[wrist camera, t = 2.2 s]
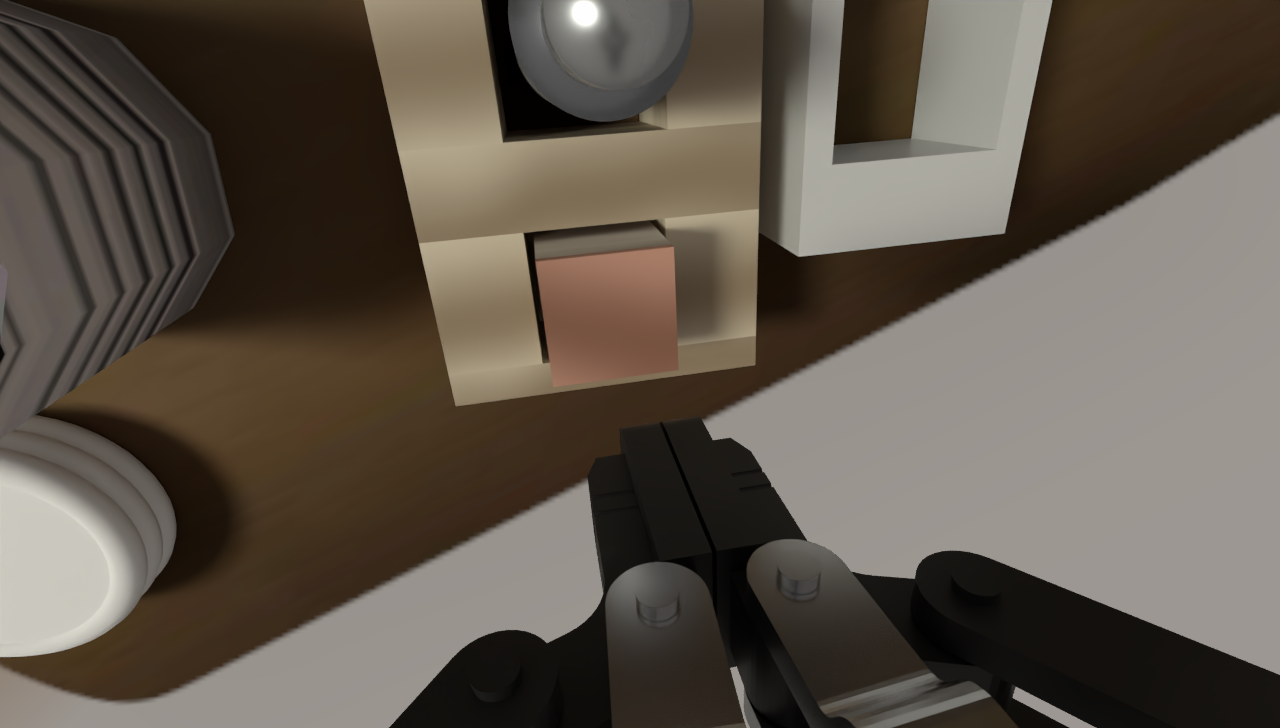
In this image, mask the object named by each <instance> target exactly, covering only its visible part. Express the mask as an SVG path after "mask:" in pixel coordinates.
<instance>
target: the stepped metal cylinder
mask: <svg viewBox="0 0 1280 728" xmlns="http://www.w3.org/2000/svg"><path fill="white" fill-rule="evenodd" d="M693 17H694V16H693V3H692V0H508V19H509V28H510V34H511V39H512V43H513V47H514V51H515V55H516V59H517V63H518V66H519V69H520V71H521V73H522V76H523V77H524V79H525V81H526V82H527V84H528V85H529V86H530V87H531V89H532V90H533V91H534V92H535V93H537V94H538V95H539V96H540V97H542V98H543V99H545V100H547V101H548V102H550V103H552V104H553V105H555V106H557V107H558V108H560V109H562V110H563V111H565V112H567V113H569V114H572V115H574V116H576V117H579V118H583V119H587V120H592V121H599V122H603V121H617V120H623V119H626V118H630V117H633V116H635V115H637V114H640V113H642V112H644V111H645V110H647V109H648V108H650V107H652V106H653V105H654V104H655V103H657V102H658V101H659V100H660V99H661V98H662V97H663V96H664V95H665V94H666V93H667V92H668V91H669V90H670V88H671V87H672V86H673V84H674V83H675V81H676V80H677V78H678V76H679V75H680V73H681V71H682V69H683V67H684V64H685V62H686V59H687V57H688V53H689V49H690V45H691V40H692V34H693Z"/></svg>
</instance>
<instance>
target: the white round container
mask: <svg viewBox="0 0 1280 728" xmlns="http://www.w3.org/2000/svg"><path fill="white" fill-rule="evenodd" d="M176 527H177V524H176V518H175V512H174V509H173V507H172V504H171V501H170V499H169V497H168V495H167V493H166V492H165V490H164V488H163V486H162V485H161V484H160V483H159V481H158V480H157V479H156V477H155V476H154V475H153V474H152V473H151V472H150V471H149V470H148V469H147V468H146V467H145V466H144V465H143V463H141V462H140V461H139V460H138V459H136V458H135V457H134V456H133V455H132V454H130V453H129V452H128V451H126V450H125V449H123V448H121V447H120V446H118V445H117V444H115V443H114V442H112V441H110V440H108V439H106V438H104V437H102V436H100V435H99V434H97V433H94V432H92V431H90V430H87V429H85V428H82V427H80V426H77V425H74V424H71V423H68V422H64V421H61V420H58V419H53V418H48V417H44V416H39V415H35V416H33V417H32V418H30V419H29V420H27V421H26V422H24V423H23V424H21V425H20V426H18V427H17V428H15V429H14V430H12V431H11V432H10V433H8V434H7V435H5V436H4V437H2V438H1V439H0V657H20V656H33V655H41V654H49V653H53V652H58V651H63V650H67V649H70V648H73V647H76V646H79V645H82V644H84V643H87V642H89V641H91V640H94V639H95V638H97V637H99V636H101V635H103V634H105V633H106V632H107V631H109V630H110V629H111V628H113V627H114V626H116V625H117V624H118V623H120V622H121V621H122V620H123V619H124V618H125V617H126V616H127V615H128V614H129V613H130V612H131V611H132V610H133V609H134V607H135V606H136V604H137V603H138V602H139V599H140V597H141V596H142V595H143V594H144V593H145V592H146V591H147V590H148V589H149V587H150V586H151V584H152V583H153V582H154V580H155V578H156V577H157V576H158V575H159V574H160V573H161V571H162V570H163V569H164V567H165V566H166V564H167V563H168V561H169V559H170V556H171V554H172V552H173V548H174V544H175V539H176Z"/></svg>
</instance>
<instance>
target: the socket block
mask: <svg viewBox="0 0 1280 728" xmlns="http://www.w3.org/2000/svg"><path fill="white" fill-rule="evenodd" d="M692 3H693V16H694V17H693V34H692V40H691V45H690V49H689V53H688V57H687V59H686V62H685V64H684V67H683V69H682V71H681V73H680V75H679V76H678V78H677V80H676V81H675V83H674V84H673V86H672V87H671V88H670V90H669V91H668V92H667V93H666V94H665V95H664V96H663V97H662V98H661V99H660V100H659V101H658V102H657V103H655V104H654V105H653V106H652V107H650V108H648V109H647V110H645V111H644V112H642V113H640V114H639V121H634V122H621V123H609V124H596V125H583V126H571V127H558V128H545V129H533V130H520V131H507V127H506V120H505V114H504V107H503V100H502V94H501V87H500V80H499V73H498V67H497V60H496V53H495V47H494V40H493V33H492V27H491V20H490V13H489V6H488V0H364V4H365V8H366V12H367V17H368V21H369V26H370V30H371V34H372V39H373V43H374V48H375V52H376V56H377V61H378V65H379V70H380V74H381V79H382V83H383V87H384V92H385V96H386V101H387V105H388V109H389V114H390V118H391V123H392V127H393V131H394V136H395V140H396V145H397V149H398V154H399V158H400V162H401V167H402V171H403V176H404V180H405V184H406V189H407V193H408V198H409V202H410V206H411V211H412V215H413V220H414V224H415V229H416V233H417V237H418V242H419V246H420V251H421V255H422V259H423V264H424V268H425V273H426V277H427V281H428V286H429V290H430V295H431V299H432V304H433V308H434V312H435V317H436V321H437V326H438V330H439V334H440V339H441V343H442V348H443V352H444V356H445V361H446V365H447V370H448V374H449V378H450V383H451V387H452V392H453V396H454V401H455V405H456V406H461V405H469V404H476V403H483V402H490V401H498V400H505V399H512V398H520V397H527V396H534V395H541V394H549V393H556V392H563V391H570V390H578V389H585V388H592V387H600V386H607V385H614V384H621V383H629V382H636V381H643V380H650V379H658V378H665V377H672V376H680V375H687V374H694V373H701V372H709V371H716V370H723V369H730V368H738V367H745V366H752V365H755V351H756V310H757V268H758V227H759V185H760V144H761V103H762V61H763V20H764V0H692ZM645 220H649V221H650V222H651V223H652V224H653V225H654V226H655V227H656V228H657V229H658V230H659V232H660V233H661V234H662V235H663V236H664V237H665V238H666V239H667V240H668V241H669V242H670V243H671V244H672V245H673V246H674V262H675V288H676V314H677V340H678V366H679V370H676V371H668V372H661V373H654V374H646V375H639V376H632V377H624V378H617V379H610V380H602V381H595V382H588V383H580V384H573V385H566V386H558V387H553V382H552V375H551V367H550V360H549V353H548V346H547V339H546V332H545V325H544V318H543V311H542V304H541V297H540V290H539V283H538V276H537V269H536V262H535V248H534V233H533V232H536V231H546V230H556V229H566V228H576V227H586V226H596V225H605V224H615V223H625V222H635V221H645Z"/></svg>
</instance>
